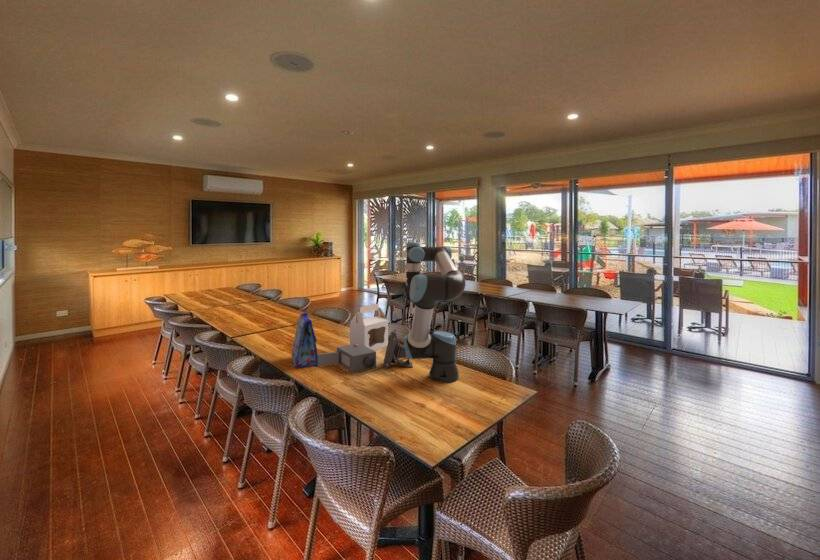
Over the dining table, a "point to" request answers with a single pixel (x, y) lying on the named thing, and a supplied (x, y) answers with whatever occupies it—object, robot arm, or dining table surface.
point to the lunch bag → (304, 343)
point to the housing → (357, 357)
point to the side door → (328, 358)
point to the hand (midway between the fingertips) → (412, 313)
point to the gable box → (369, 328)
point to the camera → (395, 352)
